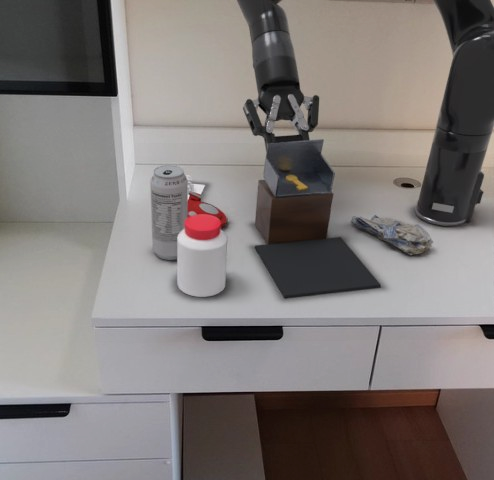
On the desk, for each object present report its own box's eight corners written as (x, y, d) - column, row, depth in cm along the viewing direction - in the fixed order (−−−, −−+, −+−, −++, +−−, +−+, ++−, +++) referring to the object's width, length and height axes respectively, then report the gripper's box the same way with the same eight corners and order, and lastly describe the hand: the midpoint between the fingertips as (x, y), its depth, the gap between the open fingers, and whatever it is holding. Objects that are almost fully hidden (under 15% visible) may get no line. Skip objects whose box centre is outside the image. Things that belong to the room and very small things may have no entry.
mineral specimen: (437, 252, 107) (443, 231, 104) (399, 262, 104) (404, 240, 102) (383, 217, 118) (388, 197, 115) (347, 225, 115) (351, 205, 113)
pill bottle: (235, 283, 98) (239, 222, 92) (201, 303, 94) (203, 239, 88) (201, 265, 103) (202, 206, 96) (167, 283, 98) (166, 221, 92)
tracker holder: (239, 217, 115) (202, 222, 108) (230, 237, 117) (194, 243, 110) (197, 183, 121) (160, 186, 114) (190, 203, 123) (153, 206, 116)
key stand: (254, 225, 115) (258, 179, 110) (310, 219, 117) (316, 175, 111) (267, 245, 108) (271, 198, 103) (326, 239, 110) (333, 193, 105)
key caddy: (255, 163, 112) (259, 130, 107) (307, 159, 113) (313, 126, 109) (274, 198, 103) (280, 163, 99) (330, 193, 105) (338, 159, 100)
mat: (254, 247, 108) (254, 245, 108) (340, 239, 110) (340, 236, 110) (284, 298, 95) (284, 295, 95) (380, 287, 98) (380, 284, 97)
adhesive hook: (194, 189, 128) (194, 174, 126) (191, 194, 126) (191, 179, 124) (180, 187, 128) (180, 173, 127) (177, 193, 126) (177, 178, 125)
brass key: (283, 178, 107) (283, 176, 107) (292, 175, 108) (292, 173, 108) (300, 191, 104) (300, 189, 104) (310, 188, 105) (310, 186, 105)
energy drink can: (192, 247, 108) (193, 166, 99) (179, 264, 103) (179, 180, 95) (161, 241, 110) (159, 161, 101) (147, 257, 105) (143, 175, 96)
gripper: (241, 55, 106) (255, 149, 103) (320, 51, 108) (335, 143, 106) (231, 78, 113) (245, 166, 111) (305, 74, 115) (320, 160, 113)
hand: (289, 154), depth 108 cm, fingers closed on key caddy, 5 cm apart
